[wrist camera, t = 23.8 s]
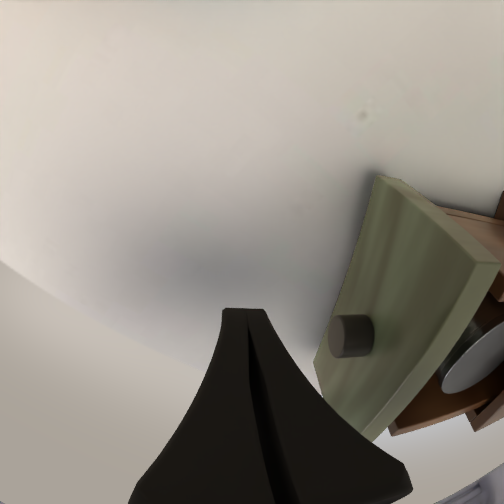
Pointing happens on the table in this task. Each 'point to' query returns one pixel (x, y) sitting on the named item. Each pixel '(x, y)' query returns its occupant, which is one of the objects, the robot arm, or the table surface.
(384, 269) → the drawer
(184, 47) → the table surface
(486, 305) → the steel tin
